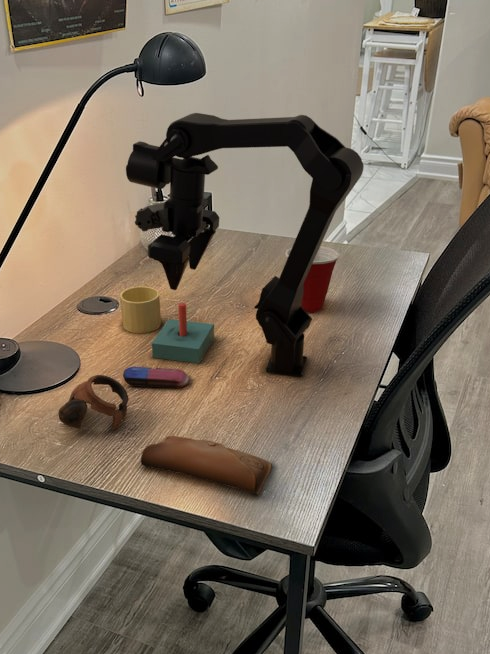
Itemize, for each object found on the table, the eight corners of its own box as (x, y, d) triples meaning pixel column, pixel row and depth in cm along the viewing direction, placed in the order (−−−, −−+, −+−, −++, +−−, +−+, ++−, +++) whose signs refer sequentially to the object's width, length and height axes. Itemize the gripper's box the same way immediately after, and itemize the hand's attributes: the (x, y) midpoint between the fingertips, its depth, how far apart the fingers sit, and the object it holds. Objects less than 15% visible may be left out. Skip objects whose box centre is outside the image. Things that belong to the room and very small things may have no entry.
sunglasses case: (275, 460, 106) (269, 442, 100) (261, 505, 103) (254, 489, 97) (164, 435, 112) (152, 416, 106) (148, 476, 109) (135, 459, 103)
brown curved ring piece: (86, 399, 122) (106, 364, 118) (123, 437, 120) (145, 403, 116) (35, 418, 112) (55, 380, 108) (74, 460, 110) (97, 423, 106)
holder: (199, 363, 131) (198, 349, 129) (152, 357, 133) (151, 343, 131) (214, 337, 139) (213, 323, 137) (169, 332, 141) (169, 318, 139)
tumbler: (153, 335, 140) (151, 304, 136) (117, 330, 142) (114, 300, 138) (166, 317, 146) (164, 288, 142) (131, 313, 148) (128, 284, 144)
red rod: (186, 349, 135) (184, 306, 130) (179, 348, 135) (177, 305, 130) (188, 346, 136) (186, 302, 131) (181, 345, 136) (179, 302, 131)
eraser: (189, 377, 127) (189, 368, 126) (187, 389, 124) (187, 380, 123) (126, 373, 128) (126, 364, 127) (122, 385, 124) (121, 376, 123)
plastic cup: (334, 295, 154) (338, 242, 147) (336, 318, 145) (341, 262, 138) (283, 294, 155) (285, 240, 148) (282, 317, 146) (284, 261, 139)
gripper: (165, 170, 130) (163, 251, 139) (118, 203, 115) (119, 290, 124) (222, 181, 127) (217, 262, 136) (182, 216, 113) (179, 304, 122)
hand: (183, 278), depth 130 cm, fingers open, 9 cm apart
